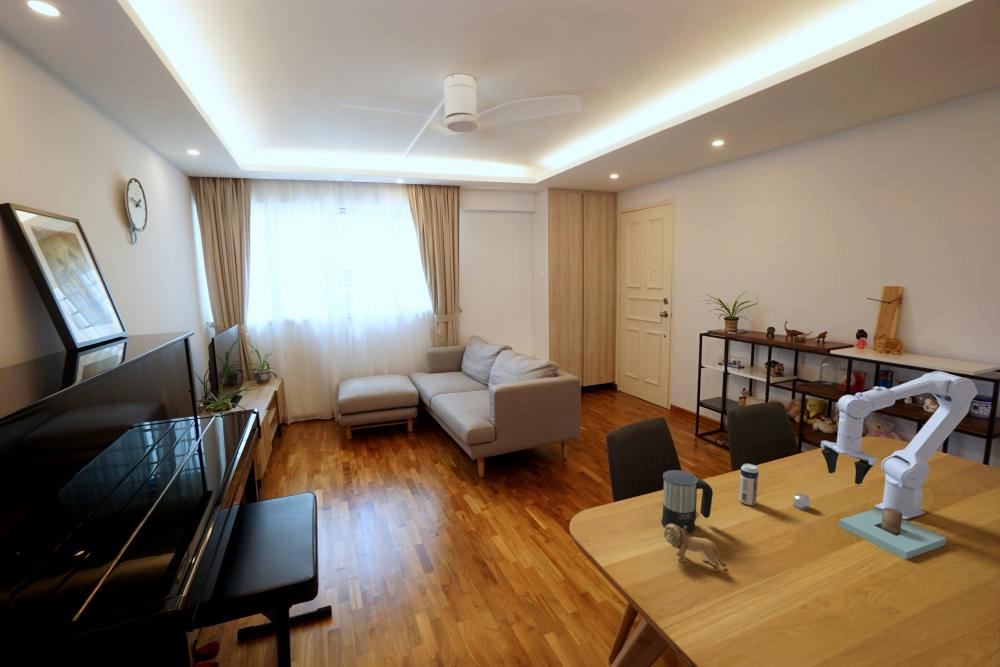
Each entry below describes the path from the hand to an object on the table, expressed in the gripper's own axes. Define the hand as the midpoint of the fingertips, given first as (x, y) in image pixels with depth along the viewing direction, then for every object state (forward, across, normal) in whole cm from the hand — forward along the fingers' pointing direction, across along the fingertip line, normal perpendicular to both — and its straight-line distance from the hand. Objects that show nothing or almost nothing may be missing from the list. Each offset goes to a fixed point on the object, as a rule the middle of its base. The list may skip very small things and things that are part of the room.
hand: (844, 477), depth 136 cm
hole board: (+9, +15, -4) cm, 18 cm away
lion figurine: (+10, +4, -63) cm, 64 cm away
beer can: (+10, -12, -25) cm, 29 cm away
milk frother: (+10, -14, -52) cm, 54 cm away
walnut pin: (+9, +15, -4) cm, 18 cm away
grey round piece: (+10, -4, -12) cm, 16 cm away
